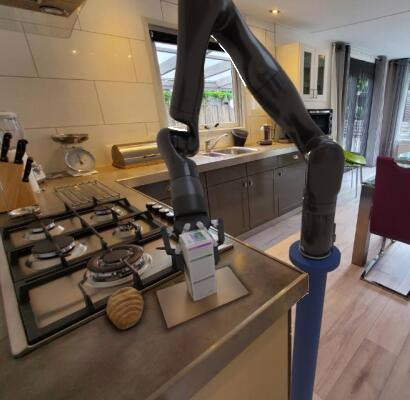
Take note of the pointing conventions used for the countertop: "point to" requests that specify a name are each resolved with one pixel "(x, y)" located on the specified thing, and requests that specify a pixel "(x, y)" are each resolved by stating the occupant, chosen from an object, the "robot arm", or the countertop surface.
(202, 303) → the flat rectangular metal plate
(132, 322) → the pastry
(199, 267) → the syrup box
